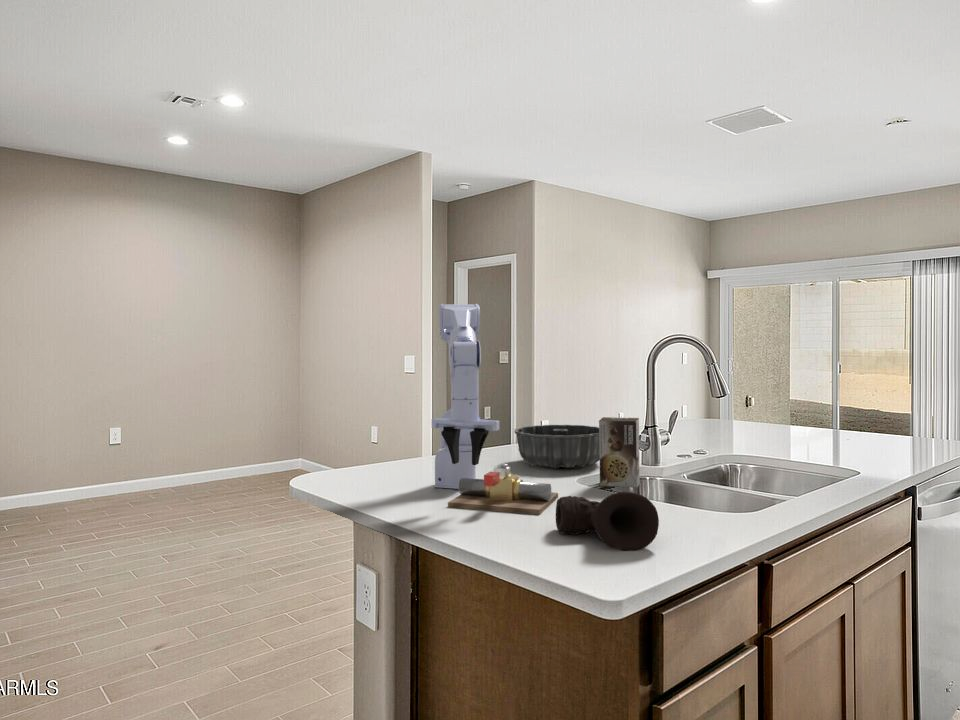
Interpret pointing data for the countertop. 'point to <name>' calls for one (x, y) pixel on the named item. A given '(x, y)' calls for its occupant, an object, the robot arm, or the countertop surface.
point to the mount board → (502, 504)
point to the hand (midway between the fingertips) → (465, 463)
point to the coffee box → (619, 452)
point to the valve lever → (496, 475)
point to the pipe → (610, 519)
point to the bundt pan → (559, 445)
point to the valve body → (506, 489)
